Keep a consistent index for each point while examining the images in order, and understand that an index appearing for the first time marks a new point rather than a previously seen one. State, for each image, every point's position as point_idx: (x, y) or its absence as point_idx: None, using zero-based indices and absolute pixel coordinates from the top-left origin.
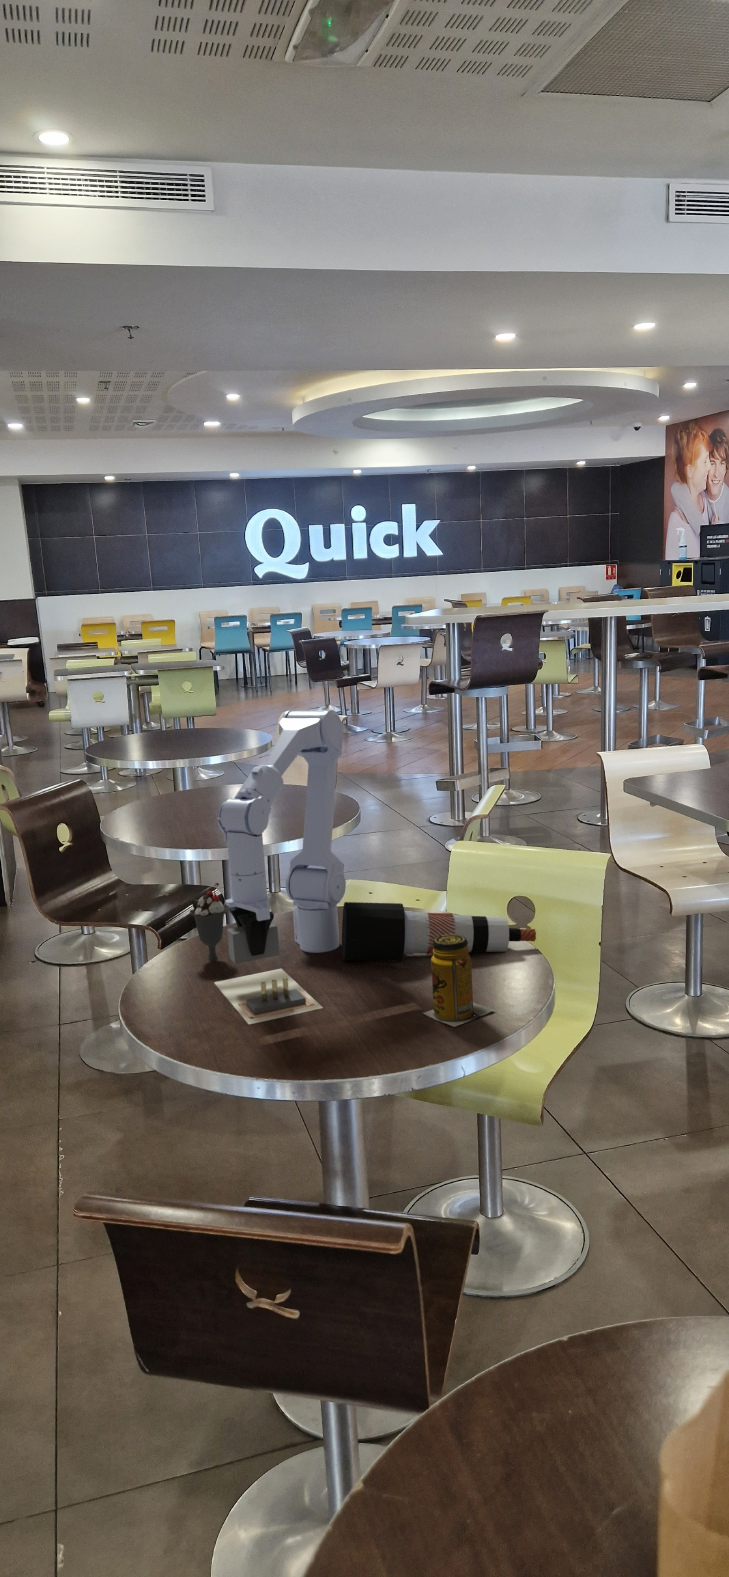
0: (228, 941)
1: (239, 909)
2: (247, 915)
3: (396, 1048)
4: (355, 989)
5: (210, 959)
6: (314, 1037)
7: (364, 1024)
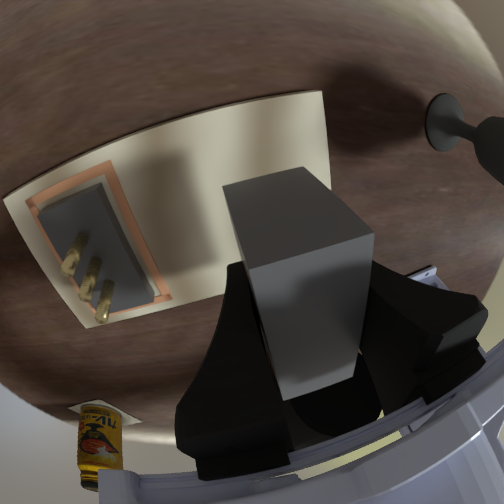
0: (332, 198)
1: (426, 366)
2: (247, 445)
3: (9, 366)
4: (194, 358)
5: (451, 119)
6: (5, 300)
7: (58, 356)
